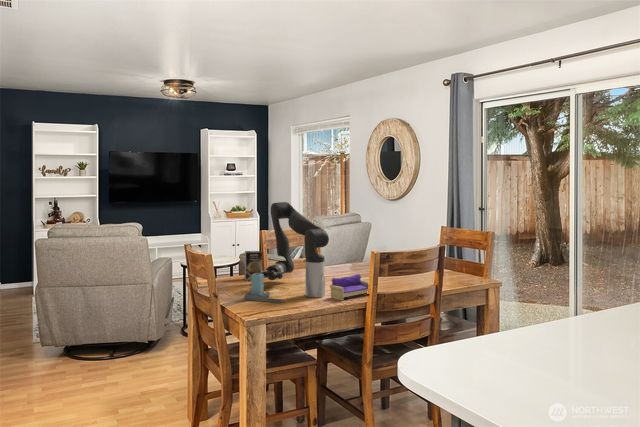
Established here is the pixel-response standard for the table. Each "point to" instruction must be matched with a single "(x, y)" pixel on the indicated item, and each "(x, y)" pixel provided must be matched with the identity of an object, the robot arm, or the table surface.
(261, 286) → the block
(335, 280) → the toy sofa
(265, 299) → the rail bay
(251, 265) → the coffee box
